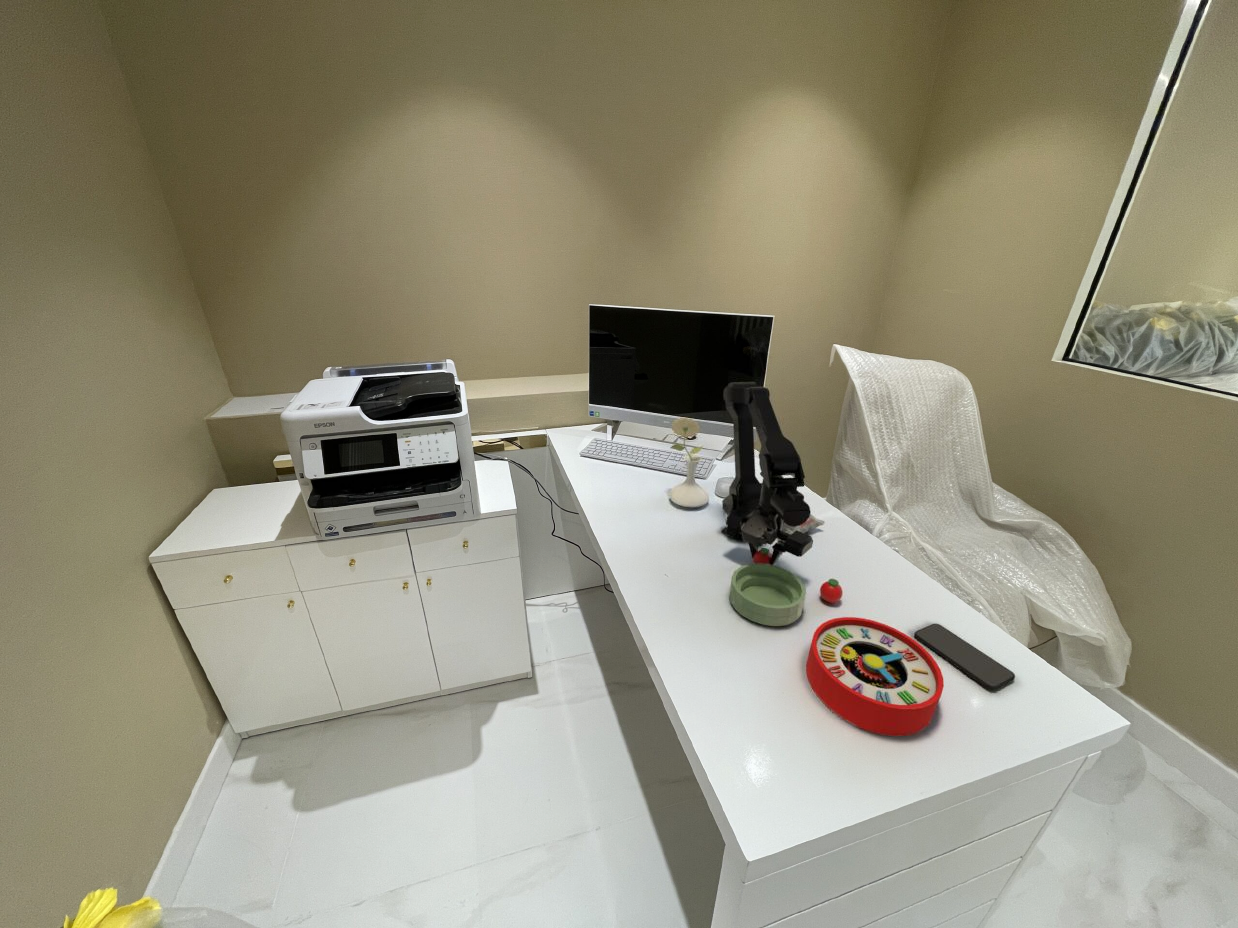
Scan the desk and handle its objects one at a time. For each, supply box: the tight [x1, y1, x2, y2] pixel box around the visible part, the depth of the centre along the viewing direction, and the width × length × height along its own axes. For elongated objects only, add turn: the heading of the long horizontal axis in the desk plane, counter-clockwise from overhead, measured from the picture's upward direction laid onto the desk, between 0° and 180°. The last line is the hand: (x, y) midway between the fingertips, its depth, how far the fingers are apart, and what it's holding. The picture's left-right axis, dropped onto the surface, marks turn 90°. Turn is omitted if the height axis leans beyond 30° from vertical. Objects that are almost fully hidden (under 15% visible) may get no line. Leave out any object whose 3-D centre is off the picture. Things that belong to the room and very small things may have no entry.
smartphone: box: [913, 623, 1016, 691], centre depth 92 cm, size 7×1×15 cm
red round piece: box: [752, 547, 772, 564], centre depth 115 cm, size 4×4×5 cm
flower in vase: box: [668, 416, 710, 508], centre depth 140 cm, size 13×11×25 cm
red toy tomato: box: [819, 578, 844, 604], centre depth 105 cm, size 4×4×5 cm
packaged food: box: [782, 513, 826, 534], centre depth 131 cm, size 9×12×5 cm
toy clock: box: [805, 616, 945, 737], centre depth 85 cm, size 20×6×20 cm
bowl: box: [728, 562, 807, 627], centre depth 104 cm, size 15×15×5 cm
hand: (762, 561), depth 116 cm, fingers closed on red round piece, 4 cm apart
